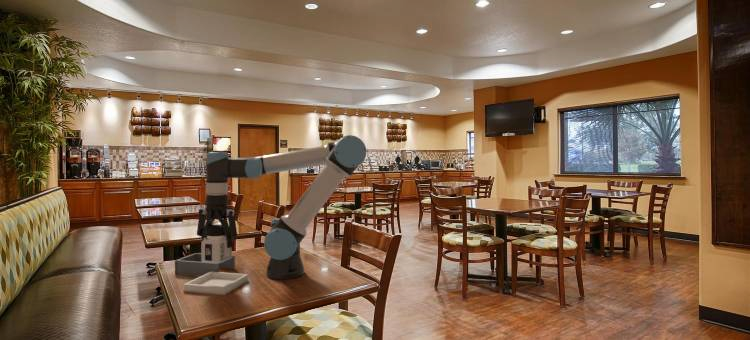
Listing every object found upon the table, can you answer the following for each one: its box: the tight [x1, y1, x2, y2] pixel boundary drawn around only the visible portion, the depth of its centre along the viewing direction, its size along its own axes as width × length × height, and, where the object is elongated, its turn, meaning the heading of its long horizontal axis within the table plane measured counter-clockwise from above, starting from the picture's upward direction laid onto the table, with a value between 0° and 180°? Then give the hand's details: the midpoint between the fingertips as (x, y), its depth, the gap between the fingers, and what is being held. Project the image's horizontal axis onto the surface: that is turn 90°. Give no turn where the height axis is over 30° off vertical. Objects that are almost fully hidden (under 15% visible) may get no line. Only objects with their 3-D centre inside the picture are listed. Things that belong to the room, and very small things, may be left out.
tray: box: [183, 271, 249, 296], centre depth 146 cm, size 16×16×3 cm
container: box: [200, 223, 233, 263], centre depth 146 cm, size 8×8×13 cm
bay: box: [174, 252, 236, 277], centre depth 165 cm, size 19×13×6 cm
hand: (216, 255), depth 146 cm, fingers closed on container, 8 cm apart
